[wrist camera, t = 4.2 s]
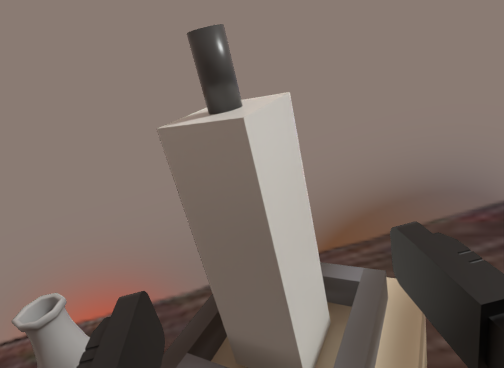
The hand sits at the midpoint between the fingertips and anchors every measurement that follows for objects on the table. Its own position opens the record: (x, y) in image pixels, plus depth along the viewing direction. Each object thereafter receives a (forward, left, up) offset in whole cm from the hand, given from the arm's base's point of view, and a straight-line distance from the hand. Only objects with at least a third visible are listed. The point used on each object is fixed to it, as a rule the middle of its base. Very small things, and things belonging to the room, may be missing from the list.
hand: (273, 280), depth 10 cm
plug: (-3, +4, -8) cm, 9 cm away
